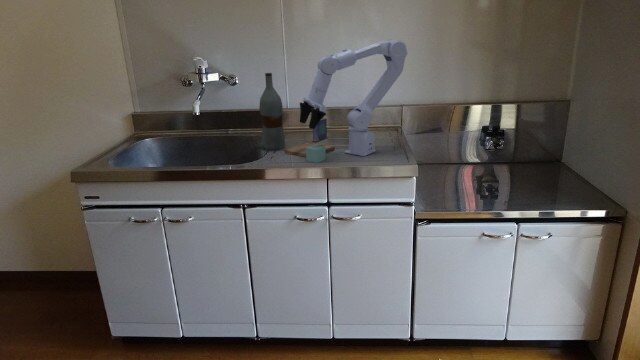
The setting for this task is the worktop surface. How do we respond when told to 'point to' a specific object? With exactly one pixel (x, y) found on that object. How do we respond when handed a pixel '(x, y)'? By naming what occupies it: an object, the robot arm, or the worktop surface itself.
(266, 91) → the bottle
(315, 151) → the cube
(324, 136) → the dark blue flat box
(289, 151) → the board
